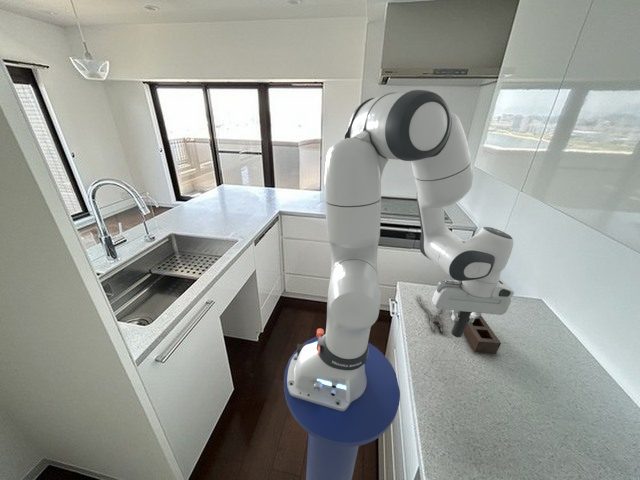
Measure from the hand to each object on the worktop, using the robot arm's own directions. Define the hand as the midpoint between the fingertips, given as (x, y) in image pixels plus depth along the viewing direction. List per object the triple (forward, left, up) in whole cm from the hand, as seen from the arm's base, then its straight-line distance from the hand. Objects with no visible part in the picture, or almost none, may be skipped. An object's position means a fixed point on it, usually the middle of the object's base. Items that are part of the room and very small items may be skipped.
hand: (461, 320), depth 77 cm
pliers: (+2, +18, -13) cm, 22 cm away
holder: (+11, +9, -13) cm, 20 cm away
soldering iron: (0, 0, -6) cm, 6 cm away
